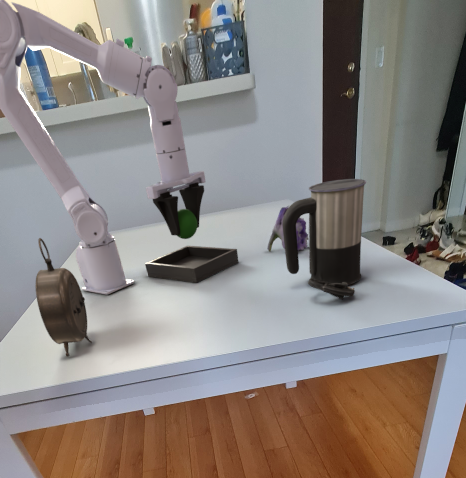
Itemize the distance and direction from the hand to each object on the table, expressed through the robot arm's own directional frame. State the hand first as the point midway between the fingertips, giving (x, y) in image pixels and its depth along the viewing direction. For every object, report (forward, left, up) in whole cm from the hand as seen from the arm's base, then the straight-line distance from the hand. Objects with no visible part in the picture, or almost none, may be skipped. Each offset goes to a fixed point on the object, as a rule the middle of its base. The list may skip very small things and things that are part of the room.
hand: (185, 231), depth 96 cm
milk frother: (+37, -1, -8) cm, 38 cm away
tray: (0, 0, -8) cm, 8 cm away
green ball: (0, 0, +1) cm, 1 cm away
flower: (+14, +17, -8) cm, 24 cm away
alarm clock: (+10, -38, -8) cm, 40 cm away
